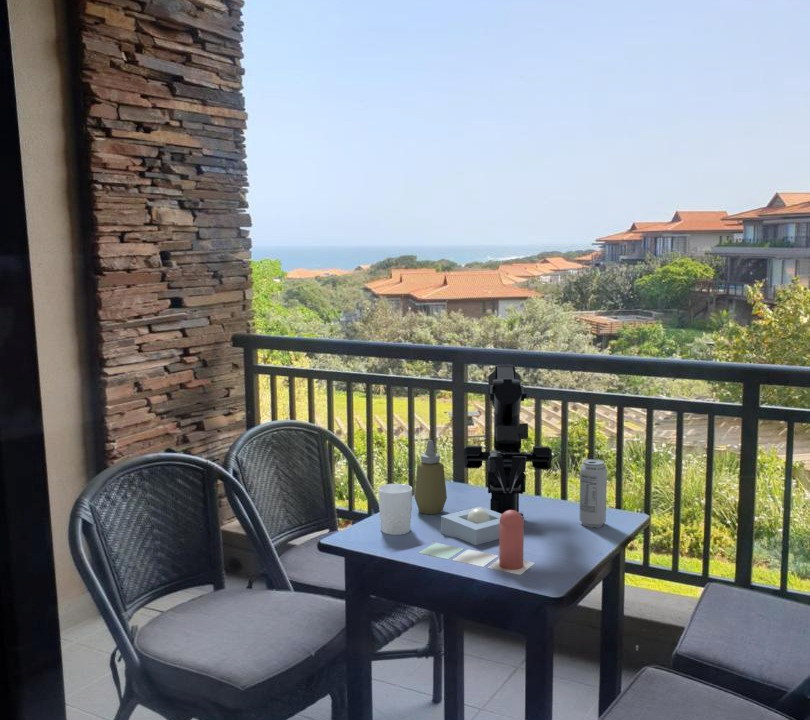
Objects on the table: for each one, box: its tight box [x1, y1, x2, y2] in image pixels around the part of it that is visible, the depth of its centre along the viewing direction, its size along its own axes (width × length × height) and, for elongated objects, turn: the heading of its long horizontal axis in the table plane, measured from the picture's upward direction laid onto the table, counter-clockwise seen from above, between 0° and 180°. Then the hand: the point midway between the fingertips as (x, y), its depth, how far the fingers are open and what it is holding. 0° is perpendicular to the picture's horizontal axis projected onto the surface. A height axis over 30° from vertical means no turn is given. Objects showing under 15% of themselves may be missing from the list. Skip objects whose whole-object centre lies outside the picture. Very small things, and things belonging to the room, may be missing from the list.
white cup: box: [377, 483, 413, 536], centre depth 183 cm, size 8×8×10 cm
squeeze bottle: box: [413, 439, 448, 515], centre depth 197 cm, size 8×8×18 cm
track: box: [418, 541, 535, 576], centre depth 165 cm, size 25×8×1 cm, turn 58°
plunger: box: [467, 508, 489, 524], centre depth 180 cm, size 5×5×6 cm
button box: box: [440, 506, 502, 546], centre depth 180 cm, size 12×12×4 cm
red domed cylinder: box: [498, 510, 525, 570], centre depth 160 cm, size 5×5×11 cm
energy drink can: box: [579, 458, 608, 528], centre depth 186 cm, size 6×6×15 cm
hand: (507, 492), depth 167 cm, fingers closed
